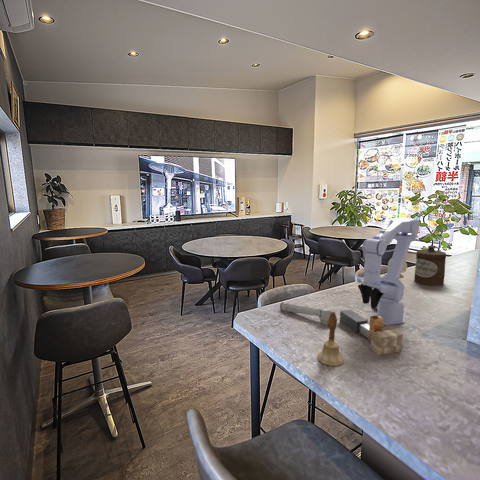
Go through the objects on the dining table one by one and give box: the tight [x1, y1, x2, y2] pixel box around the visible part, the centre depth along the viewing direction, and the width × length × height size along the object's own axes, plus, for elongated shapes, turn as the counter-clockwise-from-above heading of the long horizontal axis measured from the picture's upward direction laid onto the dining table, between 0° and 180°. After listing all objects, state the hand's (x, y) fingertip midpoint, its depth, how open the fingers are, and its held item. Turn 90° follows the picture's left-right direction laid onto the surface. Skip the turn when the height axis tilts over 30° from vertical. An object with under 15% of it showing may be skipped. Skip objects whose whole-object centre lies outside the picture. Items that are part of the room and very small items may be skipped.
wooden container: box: [414, 244, 447, 287], centre depth 175 cm, size 15×15×22 cm
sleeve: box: [339, 309, 369, 335], centre depth 119 cm, size 5×11×5 cm, turn 14°
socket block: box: [370, 328, 404, 356], centre depth 101 cm, size 9×4×6 cm, turn 104°
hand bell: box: [316, 311, 345, 367], centre depth 95 cm, size 8×8×16 cm
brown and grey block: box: [358, 315, 384, 342], centre depth 108 cm, size 4×16×9 cm, turn 14°
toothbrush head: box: [279, 301, 333, 326], centre depth 129 cm, size 5×7×25 cm
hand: (369, 305), depth 114 cm, fingers open, 4 cm apart
